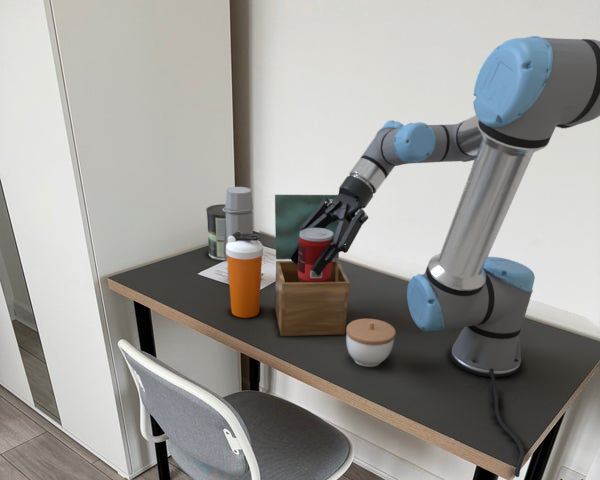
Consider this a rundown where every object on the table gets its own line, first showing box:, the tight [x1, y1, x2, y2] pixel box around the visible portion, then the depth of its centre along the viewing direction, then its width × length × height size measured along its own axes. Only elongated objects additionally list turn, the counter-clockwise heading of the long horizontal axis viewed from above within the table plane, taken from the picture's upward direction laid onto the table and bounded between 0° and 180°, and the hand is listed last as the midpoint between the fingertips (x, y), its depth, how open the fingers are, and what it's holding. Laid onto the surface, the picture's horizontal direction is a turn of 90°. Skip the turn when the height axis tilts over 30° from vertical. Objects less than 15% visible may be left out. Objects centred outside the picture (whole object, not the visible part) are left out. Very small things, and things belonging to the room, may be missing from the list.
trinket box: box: [345, 318, 397, 368], centre depth 129 cm, size 11×11×9 cm
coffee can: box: [205, 203, 227, 261], centre depth 179 cm, size 10×10×14 cm
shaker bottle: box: [226, 231, 264, 319], centre depth 144 cm, size 9×9×20 cm
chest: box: [274, 260, 351, 337], centre depth 143 cm, size 14×16×13 cm
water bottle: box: [223, 186, 254, 281], centre depth 160 cm, size 9×8×25 cm
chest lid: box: [274, 194, 340, 260], centre depth 143 cm, size 15×16×1 cm
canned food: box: [298, 228, 334, 282], centre depth 136 cm, size 8×8×11 cm
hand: (303, 266), depth 135 cm, fingers closed on canned food, 8 cm apart
